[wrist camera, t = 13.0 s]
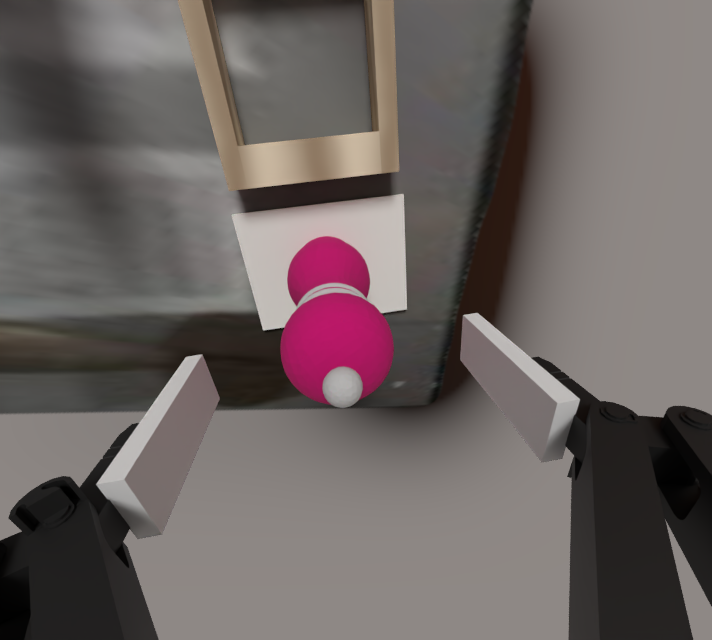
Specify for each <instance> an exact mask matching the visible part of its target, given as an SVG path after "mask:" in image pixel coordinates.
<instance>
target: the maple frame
mask: <svg viewBox="0 0 712 640" xmlns="http://www.w3.org/2000/svg"><path fill="white" fill-rule="evenodd" d="M178 3H179V7H180V10H181V14H182V18H183V21H184V25H185V29H186V33H187V36H188V40H189V44H190V47H191V51H192V55H193V59H194V62H195V66H196V70H197V73H198V77H199V81H200V85H201V88H202V92H203V96H204V99H205V103H206V107H207V111H208V114H209V118H210V122H211V125H212V129H213V133H214V137H215V140H216V144H217V148H218V151H219V155H220V159H221V163H222V166H223V170H224V174H225V178H226V181H227V185H228V189H229V191H233V190H242V189H251V188H259V187H268V186H277V185H285V184H294V183H303V182H312V181H320V180H329V179H338V178H346V177H355V176H364V175H372V174H381V173H390V172H398V171H399V149H398V118H397V88H396V58H395V28H394V0H364V12H365V27H366V42H367V57H368V73H369V88H370V103H371V118H372V132H366V133H357V134H348V135H338V136H329V137H319V138H310V139H300V140H291V141H281V142H272V143H262V144H253V145H245V144H244V139H243V135H242V131H241V126H240V122H239V118H238V113H237V109H236V105H235V101H234V96H233V92H232V88H231V83H230V79H229V75H228V70H227V66H226V62H225V58H224V53H223V49H222V45H221V40H220V36H219V32H218V27H217V23H216V19H215V15H214V10H213V6H212V2H211V0H178Z"/></svg>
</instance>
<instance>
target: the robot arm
mask: <svg viewBox="0 0 712 640" xmlns="http://www.w3.org/2000/svg"><path fill="white" fill-rule="evenodd" d="M460 360H461V361H462V362H463V364H464V365H465V366H466V368H467V369H468V370H469V371H470V373H471V374H472V375H473V376H474V378H475V379H476V380H477V381H478V383H479V384H480V385H481V386H482V387H483V389H484V390H485V391H486V393H487V394H488V395H489V396H490V398H491V399H492V400H493V401H494V403H495V404H496V405H497V406H498V407H499V409H500V410H501V412H502V413H503V414H504V415H505V417H506V418H507V419H508V420H509V422H510V423H511V424H512V425H513V427H514V428H515V429H516V430H517V432H518V433H519V434H520V435H521V436H522V438H523V439H524V441H525V442H526V443H527V444H528V445H529V447H530V448H531V449H532V451H533V452H534V453H535V454H536V456H537V457H538V458H539V459H540V461H541V462H547V461H552V460H558V459H562V457H563V454H564V451H565V447H567V448H568V449H569V450H570V451H571V452H572V453H573V454H574V458H573V461H572V464H571V467H570V470H569V473H568V476H567V477H570V478H571V477H572V492H571V493H572V494H571V498H572V499H571V544H570V545H571V546H570V596H569V640H693V637H692V633H691V629H690V625H689V620H688V615H687V611H686V607H685V603H684V598H683V594H682V590H681V586H680V581H679V577H678V573H677V569H676V564H675V560H674V556H673V551H672V547H671V542H670V539H669V534H668V530H667V525H666V521H667V523H668V525H669V527H670V528H671V530H672V532H673V534H674V536H675V538H676V540H677V542H678V544H679V546H680V548H681V549H682V551H683V553H684V555H685V557H686V559H687V561H688V563H689V564H690V567H691V568H692V570H693V572H694V574H695V576H696V578H697V580H698V582H699V583H700V585H701V587H702V589H703V591H704V593H705V595H706V597H707V599H708V601H709V602H710V604H711V606H712V415H710V414H708V413H706V412H704V411H701V410H698V409H695V408H690V407H686V406H673V407H670V408H668V409H667V411H666V414H665V415H664V417H663V418H662V417H648V416H638V415H637V414H636V413H634V412H633V411H632V410H630V409H628V408H626V407H624V406H622V405H619V404H616V403H613V402H606V401H601V402H600V401H599V400H598V399H597V398H595V397H594V396H593V395H591V394H590V393H589V392H588V391H586V390H585V389H584V388H583V387H581V386H580V385H579V384H578V383H576V382H575V381H574V380H572V379H570V378H569V376H567V375H566V374H565V373H563V372H561V370H560V369H558V368H557V367H556V366H555V365H553V364H552V363H551V362H549V361H546V360H544V359H542V358H540V357H533V358H530V357H529V356H528V355H527V354H526V353H524V352H523V351H522V350H521V349H520V348H519V347H517V346H516V345H515V344H514V343H513V342H511V341H510V340H509V339H508V338H507V337H505V336H504V335H503V334H502V333H501V332H499V331H498V330H497V329H496V328H495V327H494V326H492V325H491V324H490V323H489V322H488V321H486V320H485V319H484V318H483V317H482V316H480V315H479V314H478V313H474V314H468V315H463V325H462V341H461V356H460ZM219 399H220V398H219V395H218V393H217V390H216V388H215V385H214V383H213V380H212V378H211V375H210V373H209V370H208V368H207V365H206V362H205V360H204V357H203V355H196V356H189V357H186V358H185V359H184V361H183V362H182V364H181V365H180V366H179V368H178V369H177V371H176V372H175V373H174V375H173V376H172V378H171V379H170V380H169V382H168V383H167V385H166V386H165V388H164V389H163V390H162V392H161V393H160V395H159V396H158V397H157V399H156V400H155V402H154V403H153V405H152V406H151V407H150V409H149V410H148V412H147V413H146V414H145V416H144V417H143V419H142V420H141V421H140V423H136V424H132V425H131V426H129V427H128V428H127V429H126V430H125V431H124V432H122V433H121V434H120V435H119V436H118V437H117V439H116V440H115V441H114V443H113V444H112V445H111V447H110V449H108V451H107V452H106V453H105V455H104V456H103V459H101V460H100V462H99V463H98V464H97V465H96V467H95V468H94V469H93V471H92V472H91V473H90V475H89V476H88V477H87V479H86V480H85V481H84V483H83V484H82V485H81V487H80V488H79V487H78V486H77V484H76V483H75V482H74V481H73V480H72V478H70V477H66V476H62V477H58V478H54V479H51V480H49V481H47V482H45V483H43V484H41V485H39V486H38V487H36V488H34V489H33V490H31V491H30V492H29V493H27V494H26V495H25V496H24V497H23V498H22V499H21V500H19V501H18V503H17V504H16V505H15V506H14V507H13V509H12V510H11V512H10V515H9V519H10V520H11V521H12V522H13V523H14V524H15V525H16V526H17V527H18V528H19V529H21V530H22V532H20V533H17V534H15V535H12V536H10V537H8V538H5V539H3V540H1V541H0V640H158V637H157V634H156V631H155V628H154V625H153V622H152V619H151V616H150V613H149V610H148V607H147V604H146V601H145V598H144V595H143V592H142V589H141V586H140V583H139V580H138V577H137V574H136V571H135V568H134V566H133V562H132V559H131V557H130V553H129V551H128V548H127V546H126V545H125V544H124V543H123V540H124V538H125V537H126V535H127V533H128V531H129V529H130V530H131V531H132V532H133V534H134V535H135V536H136V537H137V539H140V538H146V537H151V536H156V535H161V534H162V533H163V531H164V528H165V526H166V524H167V522H168V519H169V517H170V515H171V512H172V509H173V507H174V505H175V503H176V500H177V498H178V496H179V493H180V491H181V489H182V486H183V484H184V482H185V479H186V476H187V474H188V472H189V470H190V467H191V465H192V463H193V460H194V458H195V456H196V453H197V451H198V449H199V446H200V444H201V441H202V439H203V437H204V434H205V432H206V430H207V427H208V425H209V423H210V420H211V418H212V416H213V413H214V411H215V408H216V406H217V404H218V401H219ZM665 519H666V521H665Z"/></svg>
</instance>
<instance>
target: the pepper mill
mask: <svg viewBox="0 0 712 640" xmlns="http://www.w3.org/2000/svg"><path fill="white" fill-rule="evenodd" d="M287 284H288V290H289V294H290V296H291V298H292V300H293V302H294V304H295V305H296V306H297V308H296V311H295V312H294V313H293V314H292V315H291V317H290V318H289V320H288V322H287V323H286V325H285V328H284V331H283V334H282V338H281V360H282V364H283V367H284V370H285V373H286V374H287V376H288V378H289V380H290V381H291V383H292V384H293V385H294V386H295V387H296V388H297V389H298V390H299V391H300V392H301V393H302V394H304V395H305V396H307V397H309V398H310V399H313V400H315V401H317V402H321V403H325V404H332V405H333V406H336V407H340V408H346V407H349V406H352V405H353V404H355V403H356V402H357V401H358V400H360V399H362V398H364V397H366V396H368V395H369V394H370V393H372V392H373V391H375V390H376V389H377V388H378V387H379V386H380V384H381V383H382V382H383V381H384V379H385V378H386V376H387V374H388V373H389V370H390V367H391V364H392V360H393V352H394V346H393V337H392V334H391V330H390V327H389V325H388V323H387V321H386V319H385V317H384V316H383V315H382V314H381V312H380V311H379V310H378V309H377V308H376V307H375V306H374V305H373V304H371V303H370V302H368V300H367V296H368V293H369V289H370V275H369V271H368V267H367V264H366V262H365V260H364V258H363V257H362V255H361V254H360V253H359V252H358V251H357V250H356V249H355V248H354V247H353V246H351V245H349V244H348V243H346V242H344V241H343V240H341V239H339V238H336V237H331V236H322V237H318V238H315V239H313V240H311V241H309V242H308V243H307V244H306V245H305V246H304V247H303V248H301V249H300V250H299V251H298V252H297V253H296V255H295V256H294V258H293V259H292V261H291V263H290V266H289V269H288V277H287Z"/></svg>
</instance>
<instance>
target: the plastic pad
mask: <svg viewBox="0 0 712 640" xmlns="http://www.w3.org/2000/svg"><path fill="white" fill-rule="evenodd" d="M232 219H233V222H234V226H235V229H236V233H237V237H238V240H239V244H240V248H241V251H242V255H243V259H244V262H245V266H246V269H247V273H248V277H249V280H250V284H251V288H252V291H253V295H254V299H255V302H256V306H257V309H258V313H259V317H260V320H261V324H262V328H263V330H270V329H277V328H284V327H285V325H286V323H287V322H288V320H289V318H290V317H291V315H292V314H293V313H294V312H295V311H296V308H297V306H296V305H295V304H294V302H293V300H292V298H291V296H290V294H289V290H288V284H287V277H288V269H289V266H290V263H291V261H292V259H293V258H294V256H295V255H296V253H297V252H298V251H299V250H300V249H301V248H303V247H304V246H305V245H306V244H307V243H308V242H309V241H311V240H313V239H315V238H318V237H322V236H331V237H336V238H339V239H341V240H343V241H344V242H346V243H348V244H349V245H351V246H353V247H354V248H355V249H356V250H357V251H358V252H359V253H360V254H361V255H362V257H363V258H364V260H365V262H366V264H367V267H368V271H369V275H370V289H369V293H368V296H367V300H368V302H370V303H371V304H373V305H374V306H375V307H376V308H377V309H378V310H379V311H380V312H381V313H386V312H393V311H400V310H407V294H406V258H405V222H404V194H397V195H389V196H381V197H372V198H364V199H356V200H347V201H339V202H331V203H323V204H314V205H306V206H298V207H289V208H281V209H273V210H264V211H256V212H248V213H239V214H232Z"/></svg>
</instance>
